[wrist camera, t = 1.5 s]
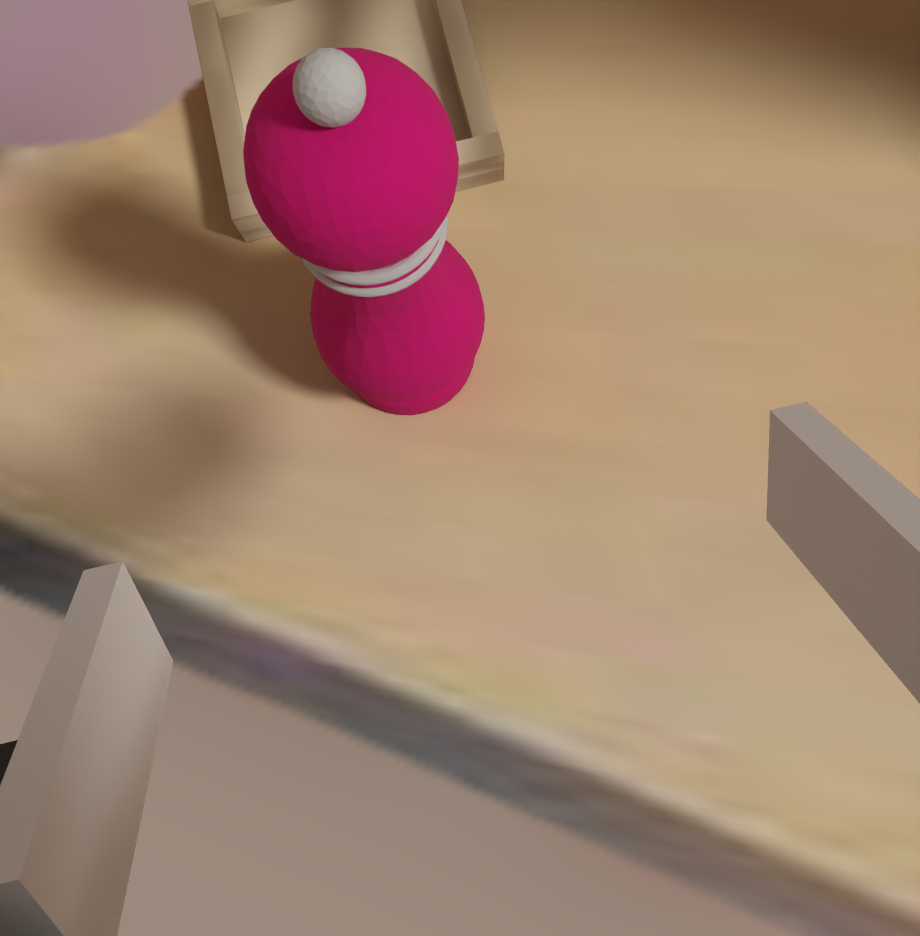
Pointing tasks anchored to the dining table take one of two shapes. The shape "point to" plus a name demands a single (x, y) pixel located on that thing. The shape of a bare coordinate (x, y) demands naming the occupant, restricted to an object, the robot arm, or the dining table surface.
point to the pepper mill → (369, 222)
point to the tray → (334, 26)
